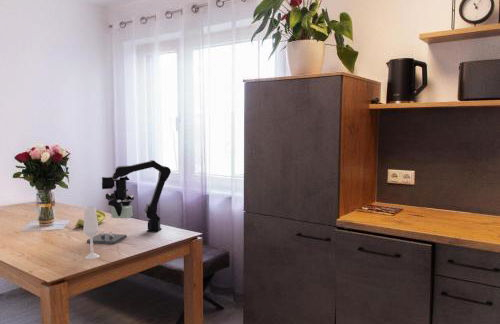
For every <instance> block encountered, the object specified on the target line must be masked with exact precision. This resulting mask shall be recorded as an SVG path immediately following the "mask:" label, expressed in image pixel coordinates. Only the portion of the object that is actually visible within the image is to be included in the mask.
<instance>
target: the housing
mask: <svg viewBox="0 0 500 324" xmlns="http://www.w3.org/2000/svg"><path fill="white" fill-rule="evenodd" d="M110 214H111V215H110V216H111V219H129V218H131V217H133V215H134V214H133V205H129V206H123V207H122V211H121V215H120V216H118V214H117V212H116V209H115V208H114V207H113V206H111V207H110Z"/></svg>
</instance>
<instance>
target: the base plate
mask: <svg viewBox="0 0 500 324" xmlns="http://www.w3.org/2000/svg"><path fill="white" fill-rule="evenodd" d="M127 235H128V234H120V233H114V231H109V233H106V232H105V231H104V230H102V231H101V232H100V233H97V235H96V234H95V236H93V244H101V245H102V244H103V245H115V244H117V243H119V242H121V241H123V240H125V239H126V238H127ZM86 243H88V244H90V238H88V239H87V240H86Z"/></svg>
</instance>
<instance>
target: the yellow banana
mask: <svg viewBox="0 0 500 324" xmlns="http://www.w3.org/2000/svg"><path fill="white" fill-rule="evenodd" d="M96 215H97V222H98V225H100V224H101V223H102V222H103V221H104V220H105V219H106V217H107V213H105V212H104V211H103V210H100V209H96ZM74 226H75V228H79V227H84V219H83V218H82V219H81V218H79V219H78V220H77V222H76V223H75V225H74Z"/></svg>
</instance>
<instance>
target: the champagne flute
mask: <svg viewBox="0 0 500 324" xmlns="http://www.w3.org/2000/svg"><path fill="white" fill-rule="evenodd" d="M96 211H97V209H96V206H91V205H90V206H85V207H84V215H83V220H84V226H83V230H82V231H83V234H85V235H86V236H87V237H88V238H89V239H90V243H89V245H90V248H89V249H90V252H89V253H88V254H87V255H86V256H84V259H86V260H94V259H97V258H99V257H100V255H99V254H98V253H95V252H94V243H93V237H94V236H96V234H98V232H99V230H100V229H99V224H98V222H97V215H96Z"/></svg>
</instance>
